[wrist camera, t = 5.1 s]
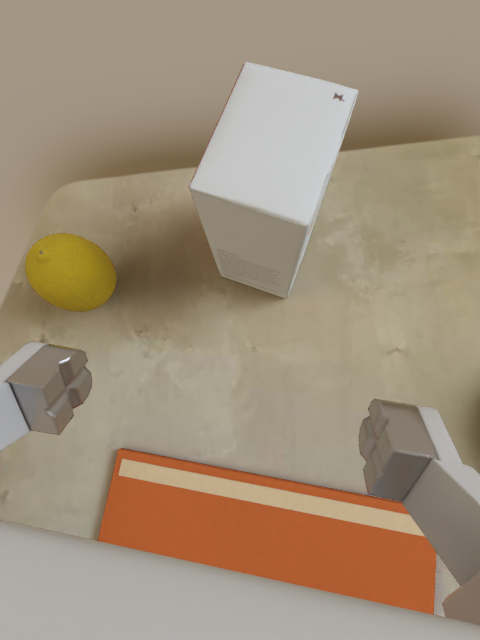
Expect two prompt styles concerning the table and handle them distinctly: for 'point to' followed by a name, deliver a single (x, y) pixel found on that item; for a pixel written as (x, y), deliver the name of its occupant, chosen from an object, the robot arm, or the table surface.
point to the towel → (270, 529)
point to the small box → (269, 173)
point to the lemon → (70, 272)
